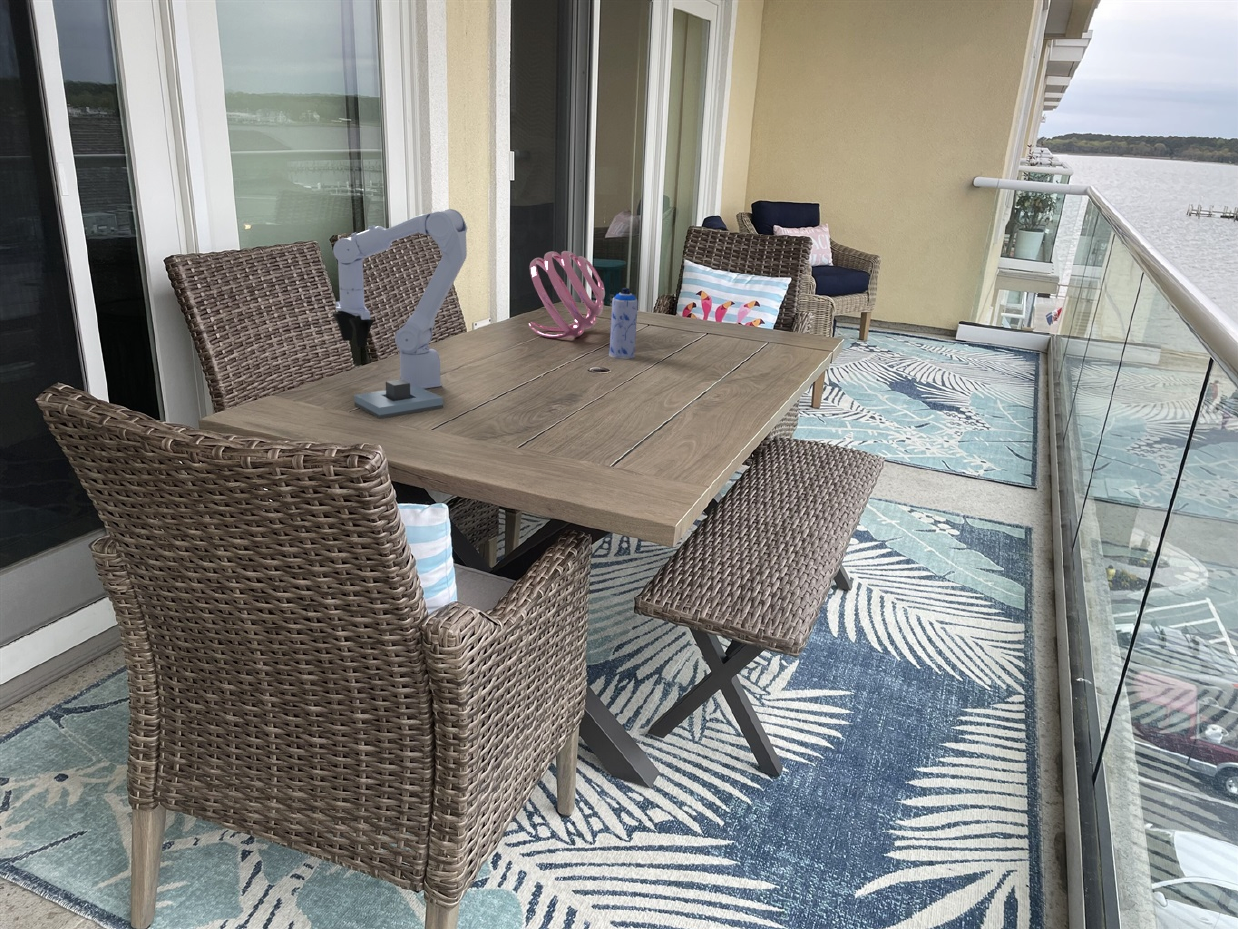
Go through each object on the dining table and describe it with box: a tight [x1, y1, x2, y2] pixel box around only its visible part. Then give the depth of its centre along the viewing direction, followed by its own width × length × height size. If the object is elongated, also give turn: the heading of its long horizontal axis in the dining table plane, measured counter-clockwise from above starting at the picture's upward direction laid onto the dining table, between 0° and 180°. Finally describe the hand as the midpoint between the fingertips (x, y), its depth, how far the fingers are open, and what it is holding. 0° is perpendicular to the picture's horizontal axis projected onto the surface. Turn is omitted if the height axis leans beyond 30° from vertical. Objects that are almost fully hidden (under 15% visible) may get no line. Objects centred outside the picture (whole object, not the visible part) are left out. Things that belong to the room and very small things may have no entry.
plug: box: [385, 378, 410, 401], centre depth 205 cm, size 4×4×5 cm
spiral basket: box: [528, 250, 606, 340], centre depth 286 cm, size 28×28×27 cm
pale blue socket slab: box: [354, 386, 444, 419], centre depth 206 cm, size 16×12×2 cm
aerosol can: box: [608, 287, 639, 360], centre depth 264 cm, size 8×8×20 cm
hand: (354, 343), depth 223 cm, fingers open, 7 cm apart
